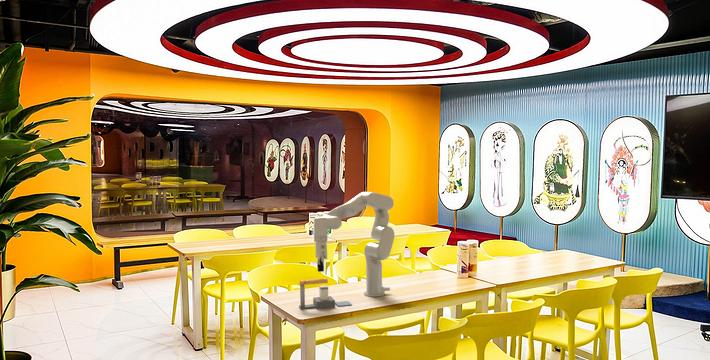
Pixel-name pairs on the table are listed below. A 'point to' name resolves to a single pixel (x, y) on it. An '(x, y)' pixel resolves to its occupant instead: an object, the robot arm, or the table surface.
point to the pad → (343, 303)
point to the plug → (323, 292)
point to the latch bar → (313, 281)
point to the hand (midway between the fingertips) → (320, 271)
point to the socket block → (315, 301)
